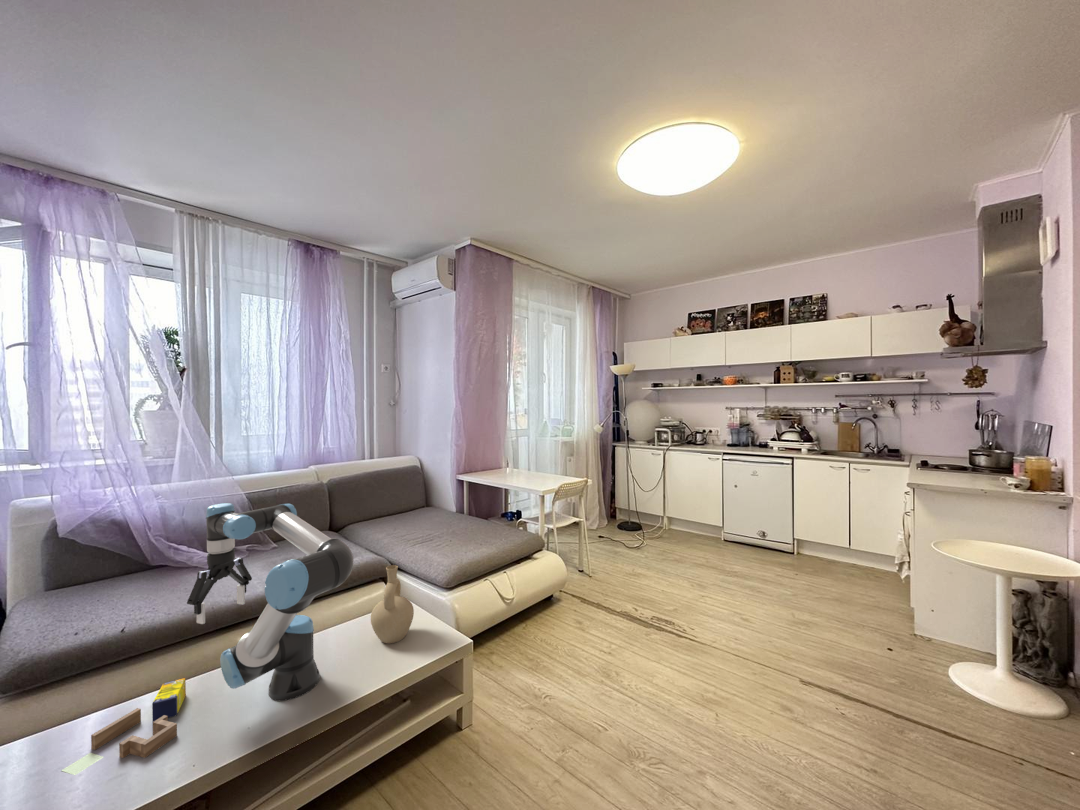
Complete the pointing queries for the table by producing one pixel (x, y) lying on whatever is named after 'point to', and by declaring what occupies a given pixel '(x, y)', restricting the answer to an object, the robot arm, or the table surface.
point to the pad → (82, 764)
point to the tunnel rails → (134, 744)
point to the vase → (392, 611)
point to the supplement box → (169, 699)
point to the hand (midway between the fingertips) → (221, 613)
